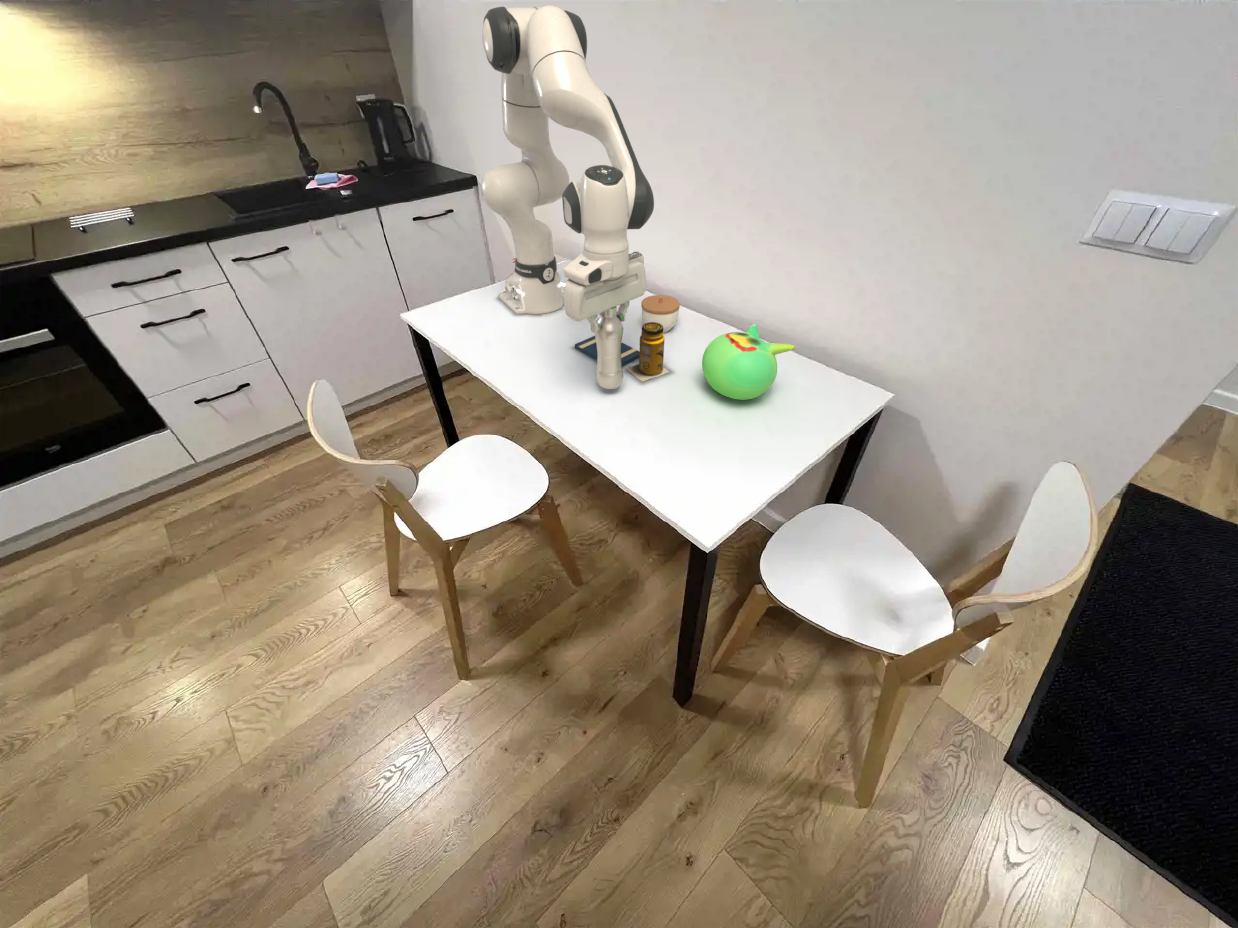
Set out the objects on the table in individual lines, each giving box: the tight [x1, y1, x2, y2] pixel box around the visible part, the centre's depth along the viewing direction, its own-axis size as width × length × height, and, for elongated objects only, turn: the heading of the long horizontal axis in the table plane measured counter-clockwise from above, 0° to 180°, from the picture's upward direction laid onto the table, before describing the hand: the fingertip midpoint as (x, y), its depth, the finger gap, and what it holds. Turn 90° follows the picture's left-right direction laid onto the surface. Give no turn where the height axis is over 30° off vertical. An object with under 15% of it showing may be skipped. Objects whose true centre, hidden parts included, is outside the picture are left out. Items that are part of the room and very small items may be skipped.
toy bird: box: [701, 323, 796, 401], centre depth 113 cm, size 18×17×15 cm
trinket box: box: [640, 294, 681, 334], centre depth 139 cm, size 11×11×9 cm
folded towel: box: [574, 335, 640, 368], centre depth 132 cm, size 16×10×1 cm, turn 43°
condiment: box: [625, 322, 670, 382], centre depth 121 cm, size 7×8×12 cm
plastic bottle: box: [594, 306, 624, 390], centre depth 111 cm, size 6×7×20 cm
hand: (608, 326), depth 107 cm, fingers closed on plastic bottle, 6 cm apart
